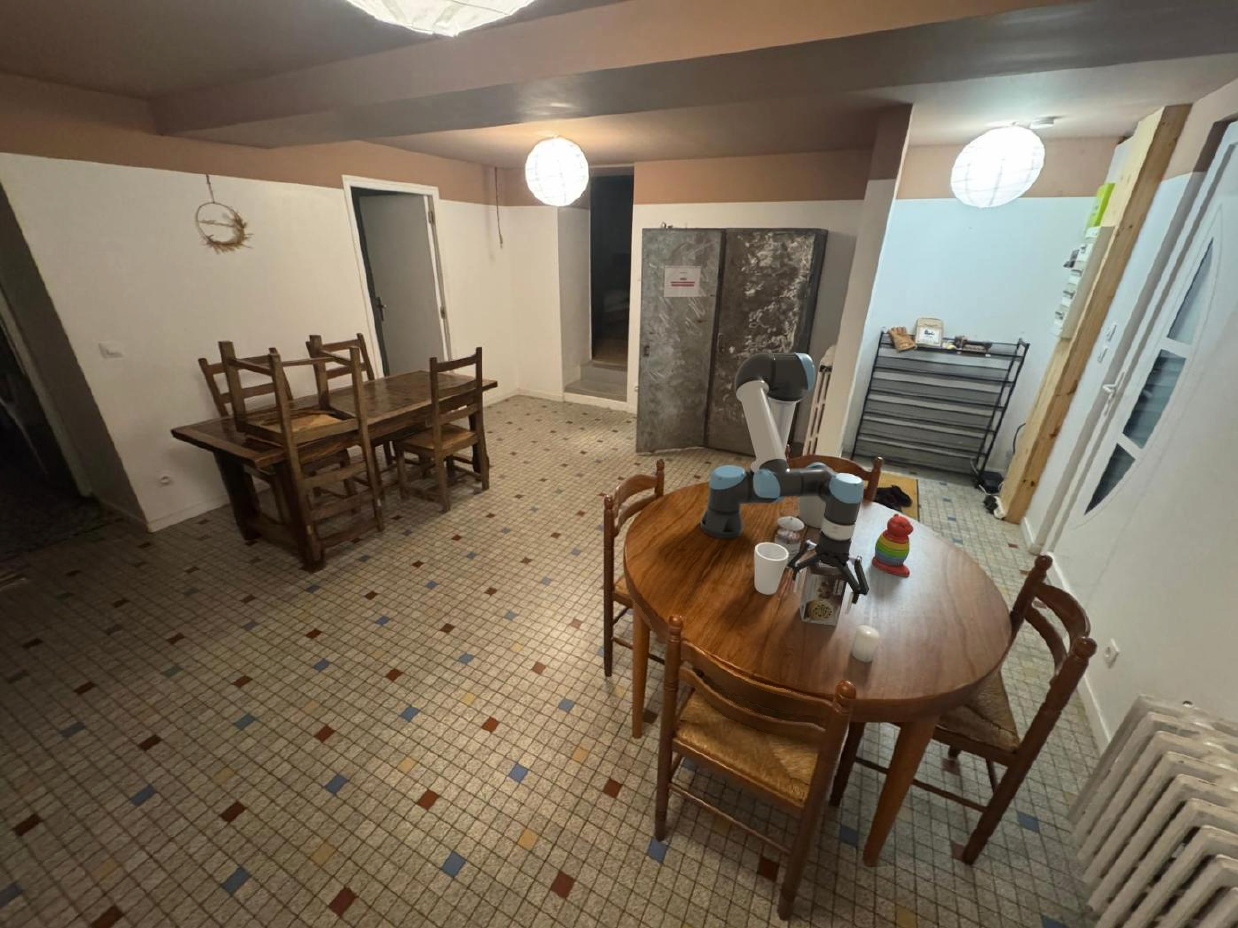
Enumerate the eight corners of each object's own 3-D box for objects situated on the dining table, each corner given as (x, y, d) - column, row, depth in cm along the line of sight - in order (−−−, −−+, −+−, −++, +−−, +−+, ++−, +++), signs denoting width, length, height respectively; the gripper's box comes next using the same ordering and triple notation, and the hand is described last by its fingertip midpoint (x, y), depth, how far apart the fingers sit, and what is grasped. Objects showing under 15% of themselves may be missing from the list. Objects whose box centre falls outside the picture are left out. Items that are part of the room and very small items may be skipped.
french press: (765, 562, 152) (777, 494, 142) (772, 545, 161) (783, 479, 151) (797, 571, 148) (811, 501, 138) (802, 552, 157) (816, 486, 147)
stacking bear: (911, 577, 145) (927, 528, 138) (876, 573, 147) (890, 524, 140) (899, 557, 155) (913, 511, 148) (866, 554, 157) (879, 507, 150)
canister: (809, 536, 166) (820, 483, 158) (781, 512, 183) (790, 463, 174) (852, 531, 170) (865, 478, 162) (822, 507, 186) (832, 459, 178)
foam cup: (745, 578, 144) (750, 542, 139) (774, 577, 145) (780, 541, 140) (756, 598, 135) (762, 561, 130) (786, 597, 136) (794, 560, 131)
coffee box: (832, 610, 131) (844, 563, 125) (837, 626, 125) (849, 577, 119) (798, 606, 133) (808, 558, 126) (801, 621, 127) (812, 573, 120)
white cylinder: (848, 655, 116) (854, 633, 113) (853, 643, 120) (859, 622, 117) (870, 665, 113) (877, 643, 111) (875, 652, 117) (881, 631, 114)
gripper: (782, 523, 122) (771, 589, 131) (888, 557, 109) (868, 628, 117) (792, 512, 128) (780, 576, 136) (894, 543, 114) (874, 612, 122)
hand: (821, 600), depth 127 cm, fingers open, 13 cm apart
